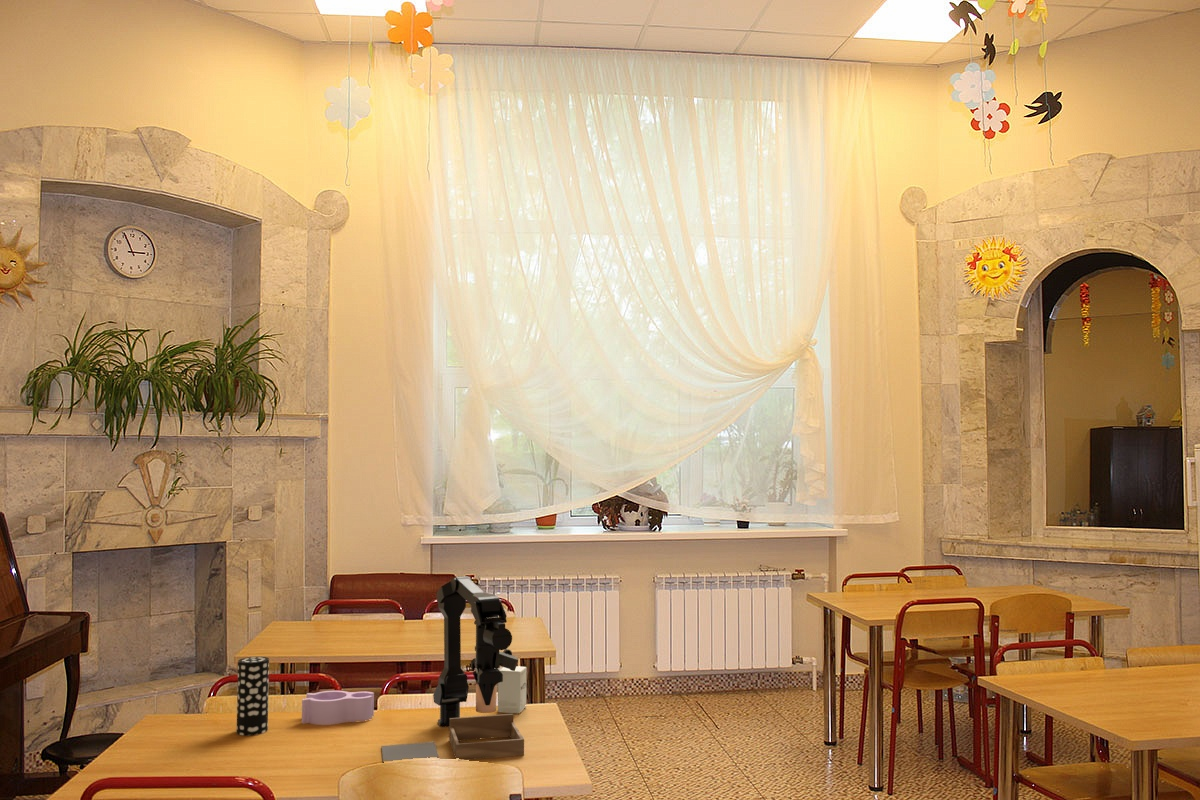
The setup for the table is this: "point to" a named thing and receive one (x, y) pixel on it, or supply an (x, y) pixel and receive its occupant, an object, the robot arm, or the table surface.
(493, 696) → the terracotta pot
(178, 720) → the table surface
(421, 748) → the mat
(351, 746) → the table surface
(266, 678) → the white-spotted black cylinder
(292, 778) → the table surface
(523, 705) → the supplement box
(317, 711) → the lavender two-hole holder
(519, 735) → the frame
